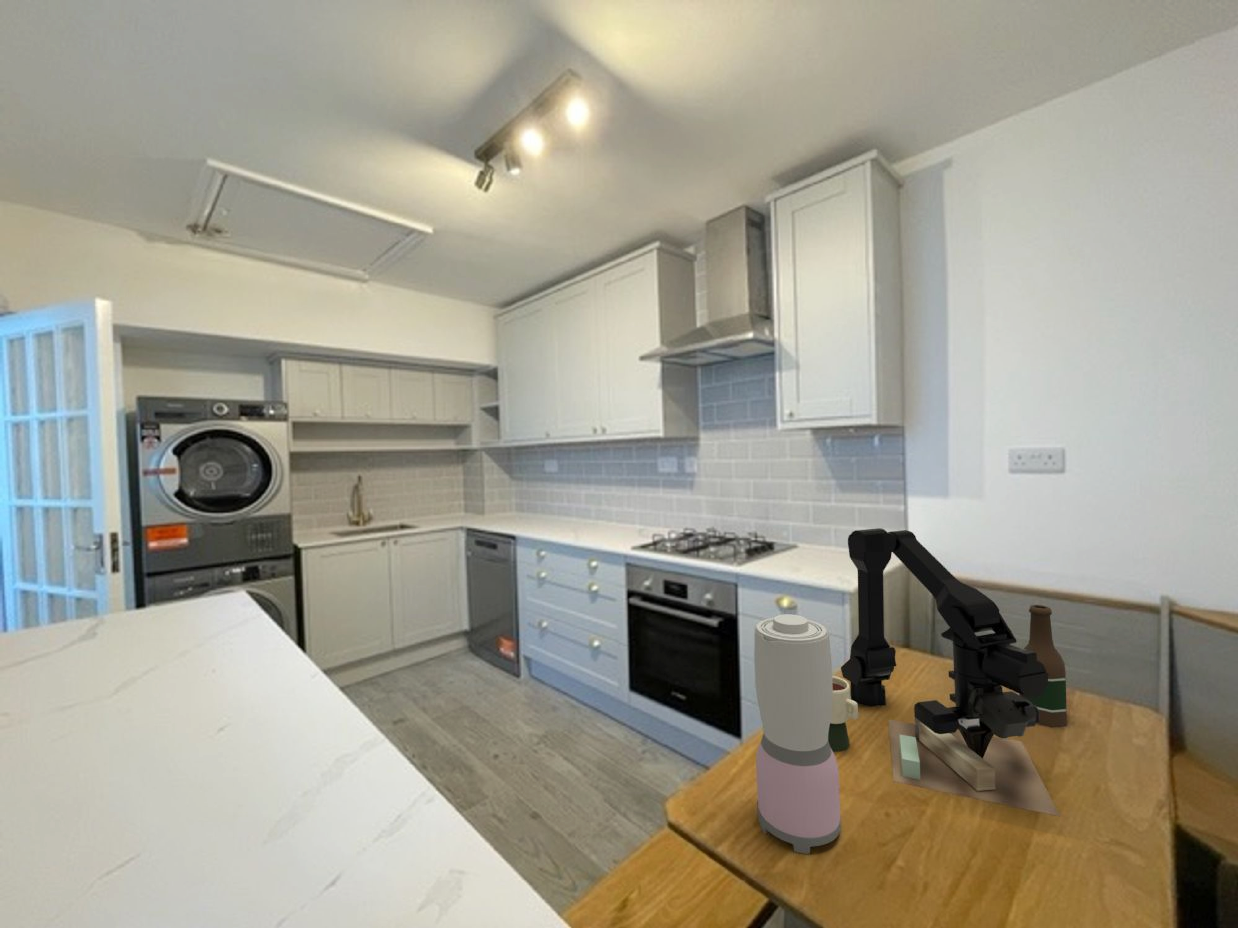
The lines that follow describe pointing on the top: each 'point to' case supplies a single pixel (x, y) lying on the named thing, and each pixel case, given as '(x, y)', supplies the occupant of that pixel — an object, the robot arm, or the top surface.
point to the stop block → (909, 757)
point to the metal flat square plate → (1012, 782)
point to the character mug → (841, 715)
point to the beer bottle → (1048, 669)
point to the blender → (796, 732)
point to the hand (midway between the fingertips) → (977, 760)
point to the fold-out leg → (958, 757)
